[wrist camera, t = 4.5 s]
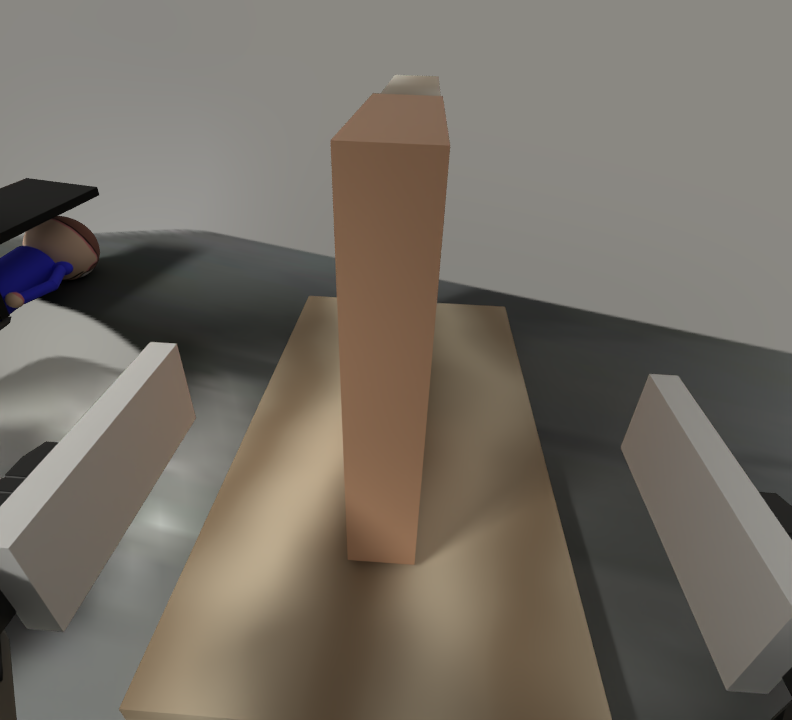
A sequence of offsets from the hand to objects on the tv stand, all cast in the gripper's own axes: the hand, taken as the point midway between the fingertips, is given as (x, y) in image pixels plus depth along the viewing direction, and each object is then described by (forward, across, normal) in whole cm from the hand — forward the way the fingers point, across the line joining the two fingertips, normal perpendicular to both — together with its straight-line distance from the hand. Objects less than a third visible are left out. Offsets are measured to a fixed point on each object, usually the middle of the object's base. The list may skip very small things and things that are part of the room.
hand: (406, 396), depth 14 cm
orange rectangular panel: (+4, -1, -7) cm, 8 cm away
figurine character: (+19, -29, -9) cm, 36 cm away
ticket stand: (+7, -1, -9) cm, 12 cm away
